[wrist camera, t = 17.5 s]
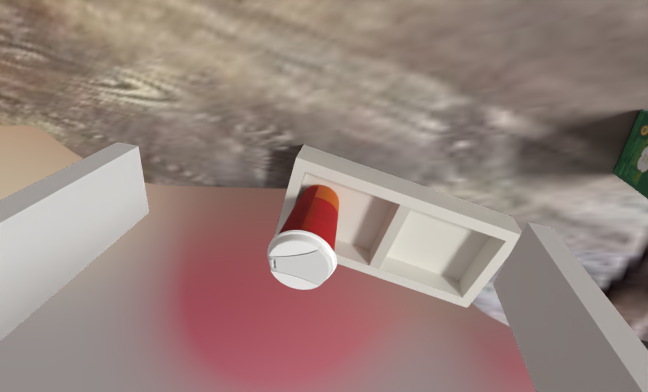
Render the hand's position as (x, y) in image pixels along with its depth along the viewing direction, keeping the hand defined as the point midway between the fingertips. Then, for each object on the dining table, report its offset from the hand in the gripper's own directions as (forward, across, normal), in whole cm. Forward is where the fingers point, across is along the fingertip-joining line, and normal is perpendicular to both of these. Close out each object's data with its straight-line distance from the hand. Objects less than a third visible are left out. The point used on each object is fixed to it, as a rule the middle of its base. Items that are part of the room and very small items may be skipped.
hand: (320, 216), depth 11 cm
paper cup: (+31, -3, -18) cm, 36 cm away
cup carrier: (+32, +8, -20) cm, 38 cm away
